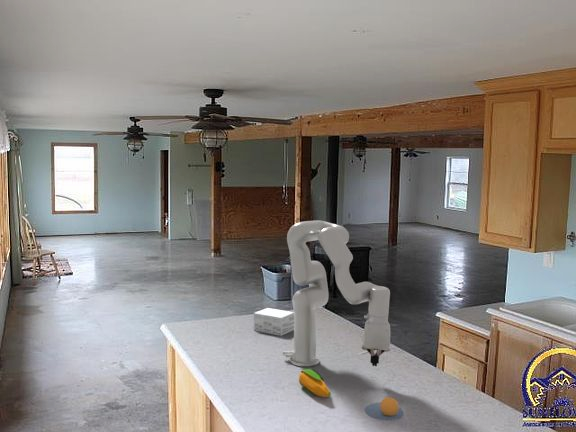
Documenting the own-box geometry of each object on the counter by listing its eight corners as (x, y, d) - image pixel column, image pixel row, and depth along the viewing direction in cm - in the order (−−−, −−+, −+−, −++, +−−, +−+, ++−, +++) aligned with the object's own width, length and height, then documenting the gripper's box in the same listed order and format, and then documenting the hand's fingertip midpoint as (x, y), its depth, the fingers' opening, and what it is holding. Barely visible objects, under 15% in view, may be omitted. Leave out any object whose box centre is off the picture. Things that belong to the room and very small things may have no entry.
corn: (311, 362, 211) (338, 381, 193) (311, 381, 211) (338, 401, 194) (294, 366, 207) (319, 385, 189) (294, 385, 208) (320, 406, 190)
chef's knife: (350, 355, 243) (355, 357, 241) (350, 353, 243) (355, 354, 241) (377, 346, 256) (382, 348, 254) (377, 344, 256) (382, 345, 254)
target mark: (366, 419, 181) (366, 418, 181) (363, 402, 193) (363, 401, 193) (406, 420, 180) (406, 420, 180) (400, 403, 193) (400, 403, 193)
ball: (379, 393, 185) (378, 408, 187) (383, 404, 180) (381, 420, 182) (396, 393, 186) (395, 408, 188) (401, 404, 180) (399, 419, 182)
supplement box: (295, 329, 279) (295, 311, 278) (281, 336, 267) (282, 317, 267) (267, 324, 287) (267, 307, 287) (253, 330, 276) (253, 312, 275)
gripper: (359, 320, 205) (355, 367, 207) (399, 323, 204) (395, 370, 207) (357, 314, 213) (354, 359, 215) (396, 317, 212) (392, 362, 214)
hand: (374, 364), depth 211 cm, fingers closed
